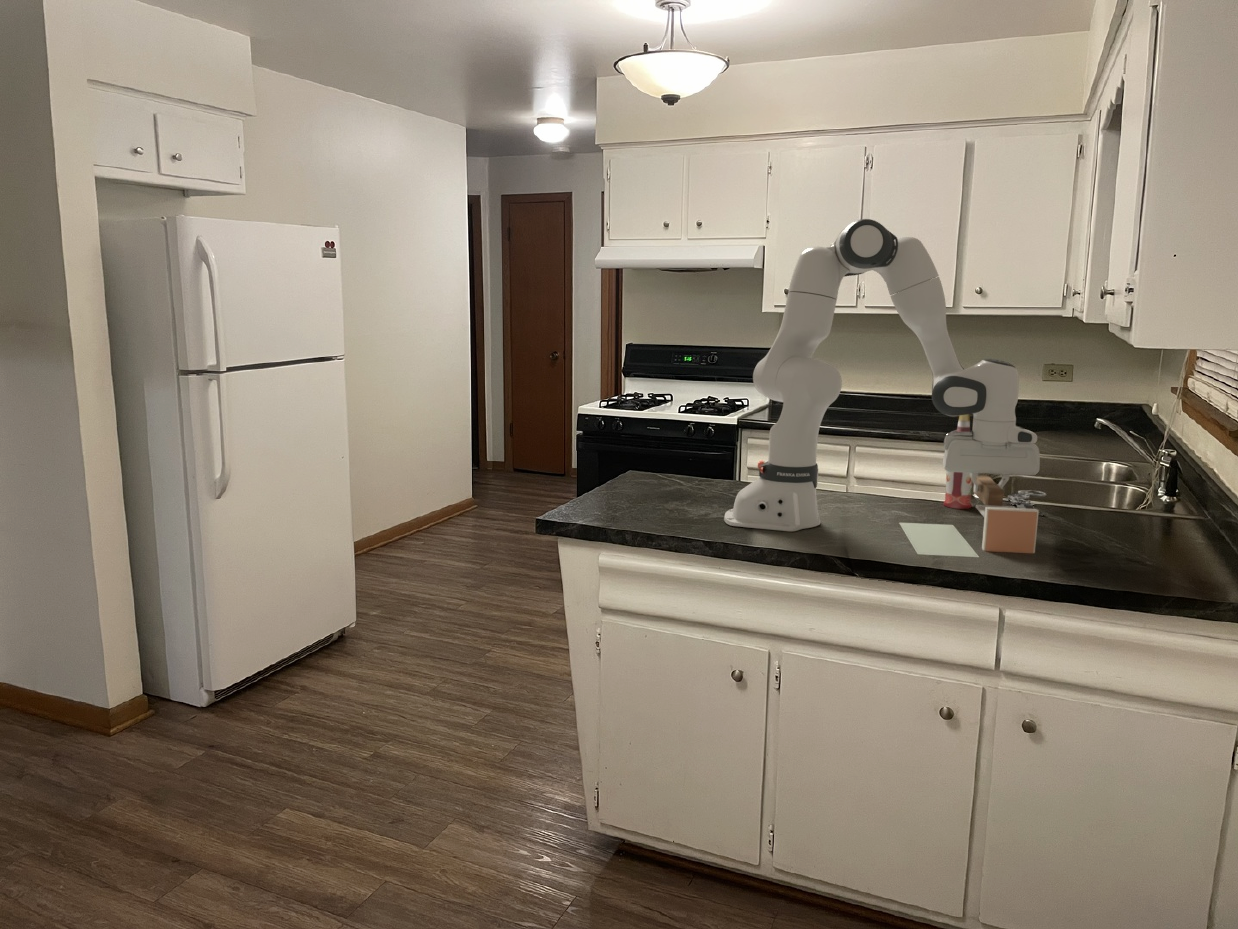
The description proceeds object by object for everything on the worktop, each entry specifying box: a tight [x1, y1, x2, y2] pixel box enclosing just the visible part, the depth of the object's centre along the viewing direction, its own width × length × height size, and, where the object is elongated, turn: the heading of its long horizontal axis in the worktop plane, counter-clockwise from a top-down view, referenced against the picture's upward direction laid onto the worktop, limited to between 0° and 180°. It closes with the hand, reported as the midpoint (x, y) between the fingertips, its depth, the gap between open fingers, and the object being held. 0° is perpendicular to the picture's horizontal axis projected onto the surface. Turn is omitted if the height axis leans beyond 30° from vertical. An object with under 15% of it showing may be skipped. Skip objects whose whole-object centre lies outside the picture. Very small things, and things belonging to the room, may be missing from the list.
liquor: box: [942, 414, 974, 510], centre depth 222 cm, size 7×7×28 cm
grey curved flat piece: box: [1007, 489, 1047, 516], centre depth 232 cm, size 28×2×10 cm
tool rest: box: [898, 522, 980, 558], centre depth 194 cm, size 12×26×1 cm, turn 171°
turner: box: [972, 474, 1016, 518], centre depth 199 cm, size 22×8×4 cm, turn 171°
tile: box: [981, 507, 1040, 554], centre depth 184 cm, size 10×2×10 cm, turn 81°
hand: (987, 492), depth 203 cm, fingers closed on turner, 3 cm apart
